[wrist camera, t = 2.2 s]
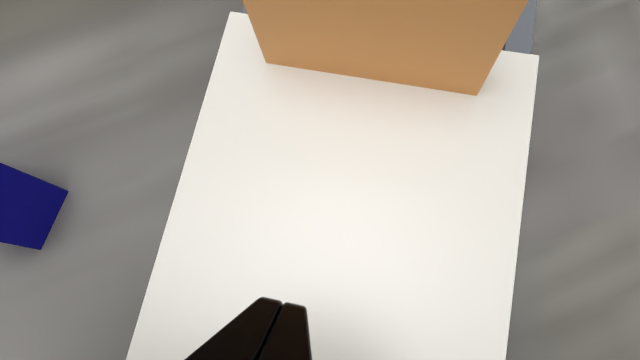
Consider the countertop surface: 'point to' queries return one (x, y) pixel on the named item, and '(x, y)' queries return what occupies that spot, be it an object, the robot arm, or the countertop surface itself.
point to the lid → (353, 181)
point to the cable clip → (27, 208)
